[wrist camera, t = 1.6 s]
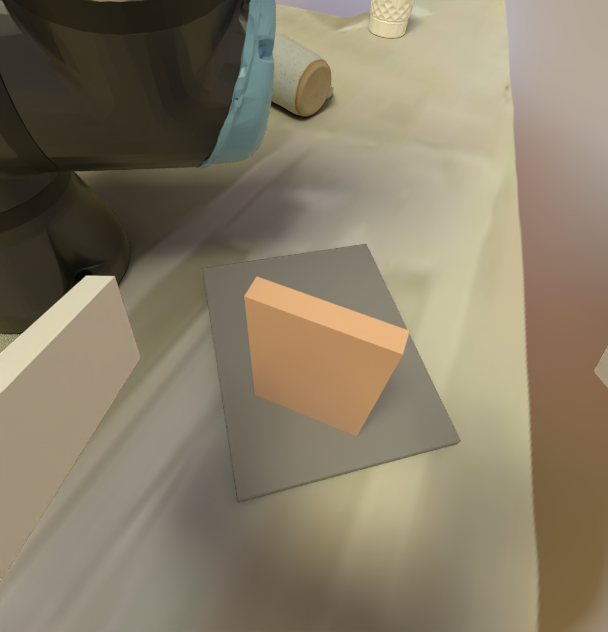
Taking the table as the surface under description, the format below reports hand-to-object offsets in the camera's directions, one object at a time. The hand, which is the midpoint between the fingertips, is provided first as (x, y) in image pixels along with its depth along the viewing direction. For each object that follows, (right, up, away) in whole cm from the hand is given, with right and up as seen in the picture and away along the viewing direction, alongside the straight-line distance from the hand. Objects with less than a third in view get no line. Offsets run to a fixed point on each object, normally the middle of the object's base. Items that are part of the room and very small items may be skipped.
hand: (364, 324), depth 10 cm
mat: (-1, -3, +22) cm, 22 cm away
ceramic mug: (-2, +30, +45) cm, 54 cm away
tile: (-1, -6, +18) cm, 19 cm away
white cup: (+14, +53, +61) cm, 82 cm away
